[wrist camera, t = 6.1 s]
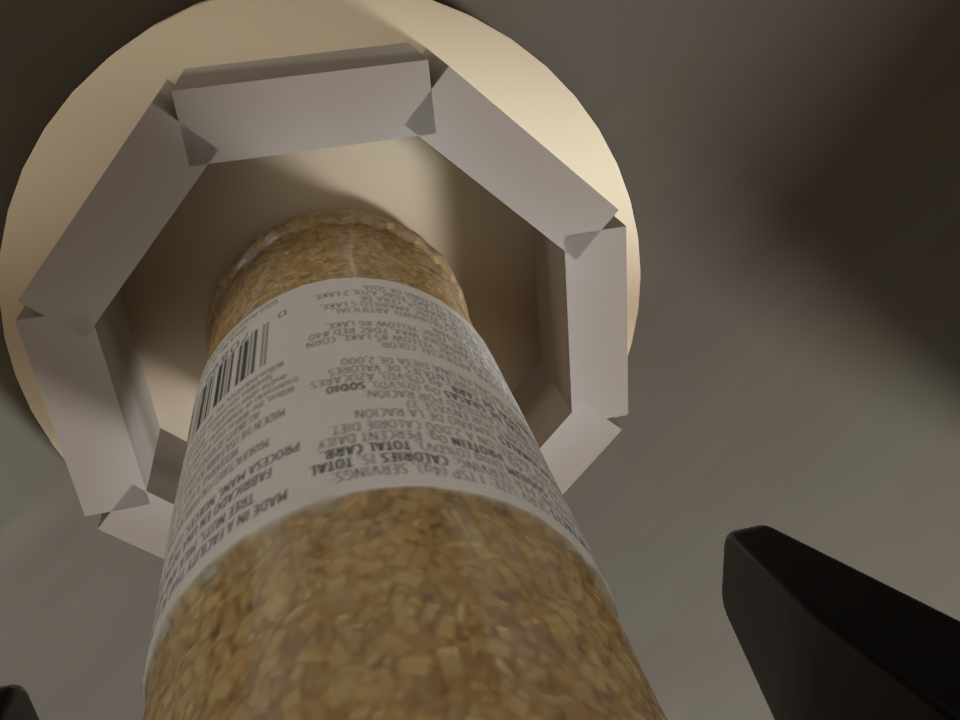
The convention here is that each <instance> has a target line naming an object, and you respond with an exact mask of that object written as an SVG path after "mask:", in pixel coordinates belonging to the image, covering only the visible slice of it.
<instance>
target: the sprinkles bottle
mask: <svg viewBox="0 0 960 720" xmlns="http://www.w3.org/2000/svg"><path fill="white" fill-rule="evenodd" d="M206 343H207V352H208V359H207V364H206V366H205V369H204V371H203V374H202V376H201V378H200V381H199V385H198V389H197V392H196V397H195V401H194V406H193V411H192V416H191V421H190V427H189V433H188V439H187V444H186V449H185V455H184V460H183V465H182V470H181V475H180V479H179V484H178V489H177V493H176V498H175V503H174V508H173V513H172V518H171V524H170V529H169V535H168V540H167V546H166V552H165V558H164V565H163V570H162V576H161V582H160V587H159V593H158V599H157V605H156V610H155V616H154V622H153V627H152V633H151V638H150V643H149V648H148V653H147V659H146V665H145V672H144V679H143V695H144V708H145V712H144V719H143V720H667V718H666V716H665V714H664V713H663V711H662V709H661V707H660V705H659V703H658V701H657V699H656V697H655V695H654V693H653V691H652V688H651V686H650V684H649V682H648V680H647V678H646V676H645V675H644V673H643V672H642V670H641V668H640V664H639V662H638V660H637V658H636V656H635V654H634V652H633V650H632V648H631V645H630V643H629V641H628V638H627V636H626V634H625V632H624V629H623V627H622V626H621V624H620V622H619V620H618V618H617V617H618V616H617V609H616V605H615V602H614V599H613V596H612V593H611V590H610V588H609V586H608V584H607V582H606V580H605V578H604V576H603V574H602V572H601V570H600V568H599V566H598V564H597V562H596V560H595V558H594V556H593V554H592V552H591V550H590V548H589V546H588V544H587V542H586V540H585V538H584V536H583V534H582V532H581V530H580V528H579V526H578V524H577V522H576V520H575V518H574V516H573V515H572V513H571V511H570V509H569V507H568V505H567V503H566V501H565V499H564V497H563V495H562V493H561V491H560V489H559V487H558V485H557V483H556V481H555V479H554V477H553V475H552V473H551V471H550V469H549V467H548V465H547V463H546V460H545V458H544V456H543V454H542V452H541V450H540V448H539V446H538V444H537V442H536V440H535V438H534V436H533V434H532V432H531V430H530V428H529V426H528V424H527V422H526V420H525V418H524V416H523V414H522V412H521V410H520V408H519V406H518V404H517V402H516V400H515V399H514V397H513V395H512V393H511V391H510V389H509V387H508V385H507V383H506V381H505V379H504V377H503V376H502V373H501V371H500V369H499V367H498V365H497V364H496V362H495V360H494V358H493V356H492V354H491V353H490V351H489V349H488V347H487V346H486V344H485V342H484V341H483V339H482V338H481V337H480V335H479V334H478V333H477V332H476V330H475V329H474V327H473V325H472V323H471V321H470V319H469V314H468V309H467V304H466V301H465V298H464V295H463V291H462V289H461V287H460V286H459V284H458V282H457V280H456V278H455V276H454V274H453V272H452V269H451V267H450V265H449V264H448V262H447V261H446V259H445V257H444V256H443V255H442V254H441V253H439V252H438V251H437V250H436V249H434V248H433V247H432V246H431V245H429V244H428V243H427V242H426V241H425V240H424V239H423V237H422V236H420V235H419V234H417V233H416V232H414V231H412V230H410V229H408V228H407V227H405V226H403V225H402V224H400V223H398V222H396V221H395V220H393V219H389V218H386V217H383V216H379V215H375V214H371V213H367V212H364V211H360V210H357V209H352V210H325V211H320V212H315V213H311V214H307V215H301V216H297V217H294V218H291V219H289V220H287V221H286V222H284V223H281V224H279V225H276V226H274V227H272V228H270V229H268V230H267V231H265V232H264V233H262V234H260V235H259V236H257V237H255V238H254V239H253V240H252V241H251V242H250V243H249V244H248V245H247V247H246V248H245V249H244V250H243V251H242V252H241V253H240V254H239V255H237V256H236V257H235V258H234V260H233V261H232V262H231V264H230V266H229V268H228V270H227V272H226V273H225V275H224V276H223V277H222V278H221V280H220V281H219V282H218V284H217V286H216V289H215V291H214V294H213V296H212V299H211V305H210V311H209V315H208V319H207V323H206Z"/></svg>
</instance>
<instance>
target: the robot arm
mask: <svg viewBox="0 0 960 720" xmlns="http://www.w3.org/2000/svg"><path fill="white" fill-rule="evenodd" d="M722 597H723V603H724V607H725V611H726V614H727V616H728V619H729V621H730V623H731V625H732V627H733V629H734V632H735V634H736V636H737V638H738V640H739V643H740V645H741V647H742V649H743V651H744V654H745V656H746V658H747V660H748V662H749V664H750V667H751V669H752V671H753V673H754V675H755V678H756V680H757V682H758V684H759V686H760V688H761V691H762V693H763V695H764V697H765V699H766V702H767V704H768V706H769V708H770V710H771V713H772V715H773V717H774V719H775V720H960V621H958V620H956V619H954V618H952V617H950V616H948V615H946V614H944V613H942V612H940V611H938V610H936V609H934V608H932V607H930V606H928V605H926V604H924V603H922V602H920V601H918V600H916V599H914V598H912V597H910V596H908V595H906V594H904V593H902V592H900V591H898V590H896V589H894V588H892V587H890V586H888V585H886V584H884V583H882V582H880V581H878V580H876V579H874V578H872V577H870V576H868V575H866V574H864V573H862V572H860V571H858V570H856V569H854V568H852V567H850V566H848V565H846V564H844V563H842V562H840V561H838V560H836V559H834V558H832V557H830V556H828V555H826V554H824V553H822V552H820V551H818V550H816V549H814V548H812V547H810V546H808V545H806V544H804V543H802V542H800V541H798V540H796V539H794V538H792V537H790V536H788V535H786V534H784V533H782V532H780V531H778V530H776V529H774V528H771V527H769V526H765V525H759V526H754V527H750V528H745V529H740V530H735V531H732V532H731V533H729V534H728V535H727V537H726V540H725V545H724V563H723V584H722ZM0 720H39V718H38V716H37V713H36V711H35V709H34V707H33V704H32V702H31V700H30V698H29V695H28V694H27V692H26V691H25V689H24V688H22V687H21V686H19V685H7V686H2V687H0Z"/></svg>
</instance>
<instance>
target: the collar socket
mask: <svg viewBox="0 0 960 720" xmlns="http://www.w3.org/2000/svg"><path fill="white" fill-rule="evenodd" d="M352 209H357V210H360V211H364V212H367V213H371V214H375V215H379V216H383V217H386V218H389V219H393V220H395V221H396V222H398V223H400V224H402V225H403V226H405V227H407V228H408V229H410V230H412V231H414V232H416V233H417V234H419V235H420V236H422V237H423V239H424V240H425V241H426V242H427V243H428V244H429V245H431V246H432V247H433V248H434V249H436V250H437V251H438V252H439V253H441V254H442V255H443V256H444V257H445V259H446V261H447V262H448V264H449V265H450V267H451V269H452V272H453V274H454V276H455V278H456V280H457V282H458V284H459V286H460V287H461V289H462V291H463V295H464V298H465V301H466V304H467V309H468V314H469V319H470V321H471V323H472V325H473V327H474V329H475V330H476V332H477V333H478V334H479V335H480V337H481V338H482V339H483V341H484V342H485V344H486V346H487V347H488V349H489V351H490V353H491V354H492V356H493V358H494V360H495V362H496V364H497V365H498V367H499V369H500V371H501V373H502V376H503V377H504V379H505V381H506V383H507V385H508V387H509V389H510V391H511V393H512V395H513V397H514V399H515V400H516V402H517V404H518V406H519V408H520V410H521V412H522V414H523V416H524V418H525V420H526V422H527V424H528V426H529V428H530V430H531V432H532V434H533V436H534V438H535V440H536V442H537V444H538V446H539V448H540V450H541V452H542V454H543V456H544V458H545V460H546V463H547V465H548V467H549V469H550V471H551V473H552V475H553V477H554V479H555V481H556V483H557V485H558V487H559V489H560V491H561V493H562V495H563V494H564V493H565V491H566V490H567V489H568V488H569V487H570V486H571V485H572V484H573V483H574V482H575V481H576V479H577V478H578V477H579V476H580V475H581V474H582V473H583V472H584V471H585V470H586V468H587V467H588V466H589V465H590V464H591V463H592V462H593V461H594V460H595V459H596V457H597V456H598V455H599V454H600V453H601V452H602V451H603V450H604V449H605V448H606V447H607V445H608V444H609V443H610V442H611V441H612V440H613V439H614V438H615V437H616V436H617V434H618V433H619V432H620V431H621V430H622V429H621V427H620V426H619V425H618V423H617V422H616V420H615V419H614V417H618V416H623V415H628V353H629V350H630V347H631V344H632V339H633V334H634V329H635V323H636V318H637V313H638V306H639V290H640V274H641V273H640V259H639V245H638V235H637V230H636V225H635V221H634V216H633V211H632V206H631V201H630V198H629V196H628V193H627V190H626V187H625V184H624V182H623V179H622V176H621V173H620V170H619V168H618V165H617V163H616V161H615V159H614V157H613V155H612V153H611V151H610V150H609V148H608V146H607V144H606V142H605V140H604V138H603V136H602V134H601V132H600V131H599V129H598V128H597V126H596V125H595V123H594V122H593V121H592V119H591V118H590V116H589V115H588V114H587V112H586V111H585V110H584V108H583V107H582V105H581V104H580V103H579V101H578V100H577V98H576V97H575V96H574V95H573V94H572V93H571V92H570V91H569V90H568V89H567V88H566V87H565V85H564V84H563V83H562V82H561V81H560V80H559V79H558V78H557V77H556V76H555V75H554V74H553V73H552V72H551V71H550V70H549V69H548V68H547V67H546V66H545V65H544V64H543V63H541V62H540V61H539V60H537V59H536V58H535V57H534V56H532V55H531V54H530V53H528V52H527V51H526V50H525V49H523V48H522V47H521V46H520V45H518V44H517V43H516V42H514V41H513V40H512V39H510V38H508V37H507V36H505V35H503V34H502V33H500V32H498V31H496V30H495V29H493V28H491V27H489V26H488V25H486V24H484V23H482V22H481V21H479V20H477V19H476V18H474V17H472V16H470V15H468V14H466V13H463V12H461V11H459V10H456V9H454V8H451V7H449V6H446V5H444V4H442V3H439V2H437V1H434V0H205V1H202V2H199V3H196V4H194V5H192V6H190V7H188V8H186V9H184V10H182V11H180V12H178V13H176V14H174V15H172V16H170V17H168V18H166V19H164V20H162V21H160V22H158V23H156V24H154V25H153V26H151V27H150V28H148V29H147V30H146V31H144V32H143V33H141V34H140V35H139V36H137V37H136V38H134V39H133V40H131V41H130V42H129V43H127V44H126V45H124V46H123V47H121V48H120V49H119V50H117V51H116V52H115V53H114V54H112V55H111V56H110V57H109V58H108V59H106V60H105V61H104V62H103V63H102V64H101V65H100V66H99V67H98V68H97V69H96V70H95V71H94V72H93V73H92V74H91V75H90V76H89V77H88V78H87V79H86V80H85V81H83V82H82V83H81V84H80V85H79V86H78V87H77V88H76V89H75V90H74V91H73V92H72V93H71V95H70V96H69V97H68V99H67V100H66V101H65V103H64V104H63V105H62V106H61V108H60V109H59V110H58V112H57V113H56V114H55V116H54V117H53V118H52V120H51V121H50V122H49V123H48V125H47V126H46V127H45V129H44V130H43V132H42V134H41V136H40V138H39V140H38V141H37V143H36V145H35V147H34V149H33V151H32V152H31V154H30V156H29V158H28V160H27V162H26V164H25V165H24V167H23V169H22V172H21V175H20V178H19V181H18V183H17V186H16V189H15V192H14V195H13V197H12V200H11V203H10V206H9V209H8V212H7V218H6V223H5V229H4V234H3V240H2V245H1V250H0V308H1V315H2V323H3V331H4V337H5V341H6V344H7V348H8V351H9V355H10V358H11V362H12V365H13V369H14V372H15V376H16V378H17V380H18V382H19V385H20V387H21V389H22V391H23V393H24V396H25V398H26V400H27V402H28V404H29V407H30V409H31V411H32V413H33V414H34V416H35V418H36V419H37V421H38V422H39V424H40V425H41V427H42V429H43V430H44V432H45V433H46V435H47V436H48V438H49V440H50V441H51V443H52V444H53V446H54V447H55V448H56V449H57V450H58V452H59V453H60V454H61V455H62V456H63V458H64V459H65V462H66V464H67V467H68V470H69V473H70V476H71V478H72V481H73V484H74V487H75V490H76V492H77V495H78V498H79V501H80V504H81V506H82V509H83V512H84V515H85V516H90V515H95V514H100V513H102V516H101V519H100V523H99V526H98V529H99V530H101V531H103V532H105V533H107V534H110V535H112V536H114V537H116V538H118V539H121V540H123V541H125V542H127V543H129V544H132V545H134V546H136V547H138V548H140V549H143V550H145V551H147V552H149V553H151V554H154V555H156V556H158V557H160V558H162V559H164V558H165V552H166V546H167V540H168V535H169V529H170V524H171V518H172V513H173V508H174V503H175V498H176V493H177V489H178V484H179V479H180V475H181V470H182V465H183V460H184V455H185V449H186V444H187V439H188V433H189V427H190V421H191V416H192V411H193V406H194V401H195V397H196V392H197V389H198V385H199V381H200V378H201V376H202V374H203V371H204V369H205V366H206V364H207V359H208V352H207V343H206V323H207V319H208V315H209V311H210V305H211V299H212V296H213V294H214V291H215V289H216V286H217V284H218V282H219V281H220V280H221V278H222V277H223V276H224V275H225V273H226V272H227V270H228V268H229V266H230V264H231V262H232V261H233V260H234V258H235V257H236V256H237V255H239V254H240V253H241V252H242V251H243V250H244V249H245V248H246V247H247V245H248V244H249V243H250V242H251V241H252V240H253V239H254V238H255V237H257V236H259V235H260V234H262V233H264V232H265V231H267V230H268V229H270V228H272V227H274V226H276V225H279V224H281V223H284V222H286V221H287V220H289V219H291V218H294V217H297V216H301V215H307V214H311V213H315V212H320V211H325V210H352Z"/></svg>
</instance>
